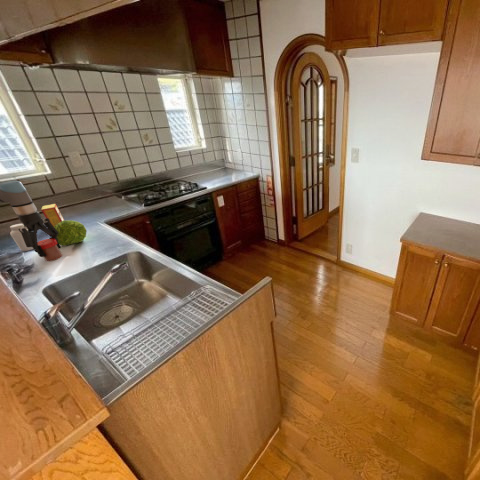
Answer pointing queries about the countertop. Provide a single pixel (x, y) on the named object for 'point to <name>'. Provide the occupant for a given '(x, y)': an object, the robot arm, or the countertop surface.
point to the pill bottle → (19, 237)
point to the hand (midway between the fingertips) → (50, 252)
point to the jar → (52, 253)
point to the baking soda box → (52, 214)
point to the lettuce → (70, 232)
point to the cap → (47, 243)
